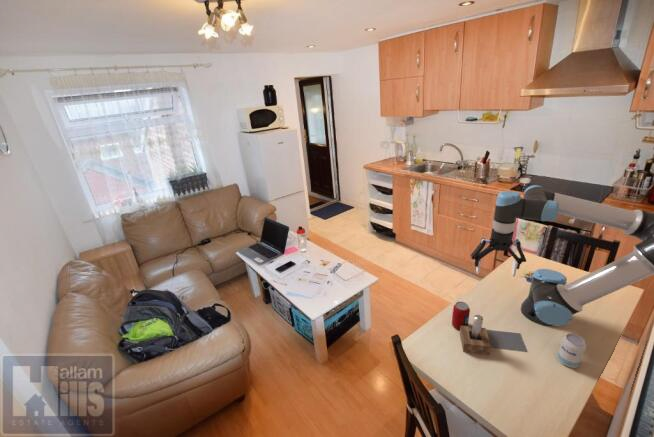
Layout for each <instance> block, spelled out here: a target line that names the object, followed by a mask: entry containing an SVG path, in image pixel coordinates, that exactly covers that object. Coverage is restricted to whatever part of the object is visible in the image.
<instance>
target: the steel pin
mask: <svg viewBox="0 0 654 437" xmlns="http://www.w3.org/2000/svg"><path fill="white" fill-rule="evenodd" d="M483 320H484V318H483V316H482V315H480V314H475V315H474V316H473V322H472V327H473V328H472V334H471V339H474V340H479V338H480V333H481V328H483V327H482V326H483V322H484V321H483Z"/></svg>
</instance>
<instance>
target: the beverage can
mask: <svg viewBox="0 0 654 437" xmlns="http://www.w3.org/2000/svg"><path fill="white" fill-rule="evenodd" d="M470 312H471V309H470V307H469V304H467V303H466V302H464V301H457V302H456V303H455V304H454V305H453V308H452V316H451V325H452V327H453V328H455V329H456V330H459V331H460V326H469V320H470V314H471V313H470Z"/></svg>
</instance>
